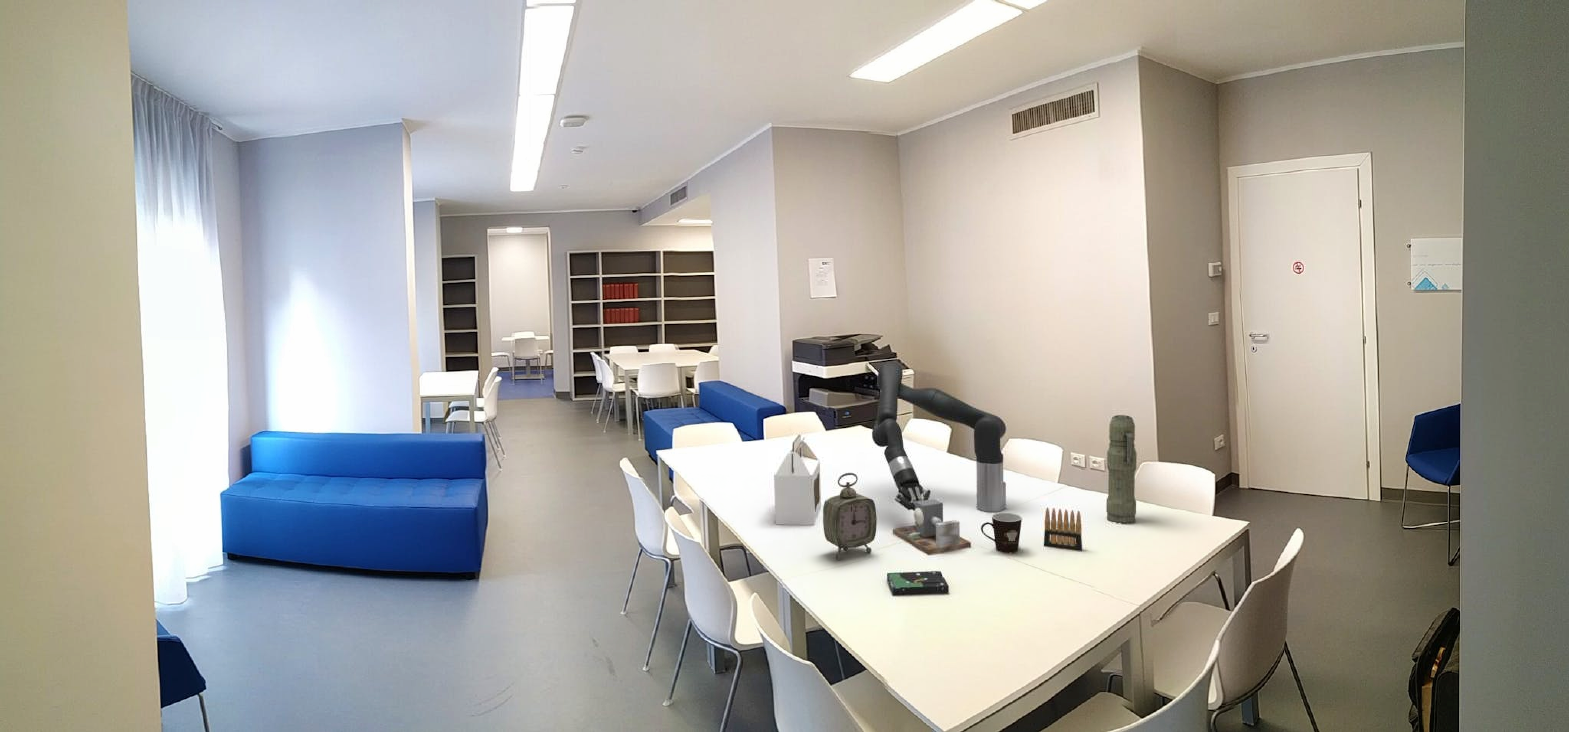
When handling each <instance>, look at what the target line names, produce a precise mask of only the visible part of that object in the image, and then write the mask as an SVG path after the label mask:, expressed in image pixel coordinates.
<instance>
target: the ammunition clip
mask: <svg viewBox="0 0 1569 732" xmlns="http://www.w3.org/2000/svg"><path fill="white" fill-rule="evenodd" d="M1068 512H1069V511H1068V510H1067V509H1065V510H1064V513H1062V509H1061V508H1059V509H1058V513H1057V515H1056V510H1055V507H1053V508H1052V510H1051V517H1050V509H1049V507H1046V509H1045V516H1044V533H1043V534H1044V535H1043V536H1044V537H1043V547H1044V548H1045V547H1047V548H1055V549H1062V550H1070V551H1077V552H1081V551H1082V550H1083V540H1082V539H1083V537H1082V532H1083V531H1082V528H1083V527H1082V520H1081V518H1082V517H1081V513H1080V510H1077V513H1076V520H1075V512H1074V510H1073V509H1072V510H1071V511H1070V516H1069V513H1068ZM1056 516H1057V517H1056ZM1069 517H1070V518H1069ZM1050 518H1051V519H1050Z"/></svg>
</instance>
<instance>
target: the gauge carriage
mask: <svg viewBox="0 0 1569 732" xmlns="http://www.w3.org/2000/svg"><path fill="white" fill-rule="evenodd" d="M913 517H914V518H913V519H914V521H915V522H914V523H915V524H914V525H915V528H916V533H913V534H910V536H913V535H921V536H923V537H928V536H934V535H936V523H940V522H944V502H942V501H940V500H937V499H935V498H932V499H930V498H929V499H928V500H924V501H923V500H922V501H917V502H915V511H913Z"/></svg>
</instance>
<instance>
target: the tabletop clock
mask: <svg viewBox="0 0 1569 732" xmlns="http://www.w3.org/2000/svg"><path fill="white" fill-rule="evenodd" d="M846 476H847V477H848V476H854V478H855V481H854V482H852V483H850V482H849V481H847V482H846V483H845V484H841V483H840V482H841V479H842V478H844V477H846ZM857 483H858V476H857V474H855V473H853V472H846V473H843V474H842V475H840V476H839V477H838V479H837V485H838V486H839V487H841V488H842V489H841V491H840V493H839V494H837V495H834V496H830V497H829V498H827V499H826V500H825V501H824V503H823V506H822V507H823V509H822V512H823V513H822V524H823V525H822V527H823V534H824V537H825V540H826V541H827V542H828V543H830V544H832V545H833V546H836V547H837V548H838V550H837V551H838V554H837V555H836V557H835V558H836V560H838V561H840V560H841V559H842V555H841V553H842V552H841V551H843V552H845V553H847V552H848V551H849V549H854V548H858V547H862V546H864V547H865V548H866V553H868V554H870V553H871V552H872V547H868V544H870V543H872V542H873V541H874V540H875V538H876V534H877V523H878V522H877V521H878V518H877V508H876V504H875V500H874V499H872V498H869V497H867V496H864V495H863V494H860V493H857V491H856V489H854V488H853V486H855V485H856V484H857Z"/></svg>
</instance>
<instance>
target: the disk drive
mask: <svg viewBox="0 0 1569 732" xmlns="http://www.w3.org/2000/svg"><path fill="white" fill-rule="evenodd" d="M886 581H887V584H888V587H889V589H890V592H891V596H921V595H946V594H947V595H948V594H949V593H950V587H949V586H950V585H949V584H948V582H947V580H946V579H945V577H944V576H943V574H942V571H941V570H931V571H927V570H926V571H906V572H905V571H903V572H901V571H900V572H897V571H896V572H887V573H886Z"/></svg>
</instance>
